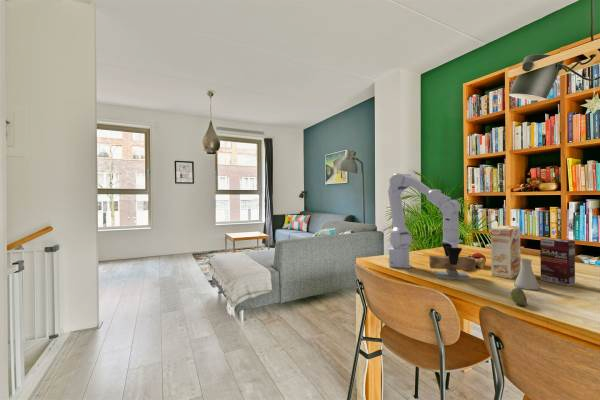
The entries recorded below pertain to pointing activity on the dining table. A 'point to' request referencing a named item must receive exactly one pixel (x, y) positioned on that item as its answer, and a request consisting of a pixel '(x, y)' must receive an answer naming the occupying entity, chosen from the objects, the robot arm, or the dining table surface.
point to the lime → (519, 296)
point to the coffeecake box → (505, 251)
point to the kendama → (478, 259)
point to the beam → (444, 263)
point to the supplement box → (557, 261)
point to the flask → (526, 276)
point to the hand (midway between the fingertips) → (451, 262)
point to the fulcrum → (452, 275)
